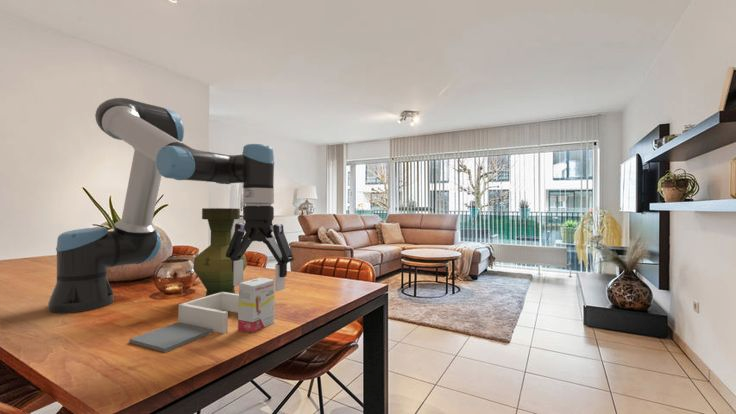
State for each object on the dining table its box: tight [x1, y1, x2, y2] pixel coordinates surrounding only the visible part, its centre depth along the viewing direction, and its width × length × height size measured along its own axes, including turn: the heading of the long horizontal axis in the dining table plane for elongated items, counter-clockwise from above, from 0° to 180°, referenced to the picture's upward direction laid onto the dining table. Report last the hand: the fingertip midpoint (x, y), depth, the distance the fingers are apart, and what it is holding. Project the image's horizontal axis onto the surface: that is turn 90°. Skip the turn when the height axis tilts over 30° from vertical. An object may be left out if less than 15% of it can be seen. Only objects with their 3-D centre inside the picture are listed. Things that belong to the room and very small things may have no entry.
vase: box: [192, 207, 248, 297], centre depth 110 cm, size 16×16×30 cm
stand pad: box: [129, 321, 213, 353], centre depth 79 cm, size 12×12×1 cm
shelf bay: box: [177, 292, 239, 334], centre depth 91 cm, size 16×14×5 cm
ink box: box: [237, 277, 276, 334], centre depth 86 cm, size 9×5×12 cm, turn 156°
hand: (258, 287), depth 86 cm, fingers open, 13 cm apart
